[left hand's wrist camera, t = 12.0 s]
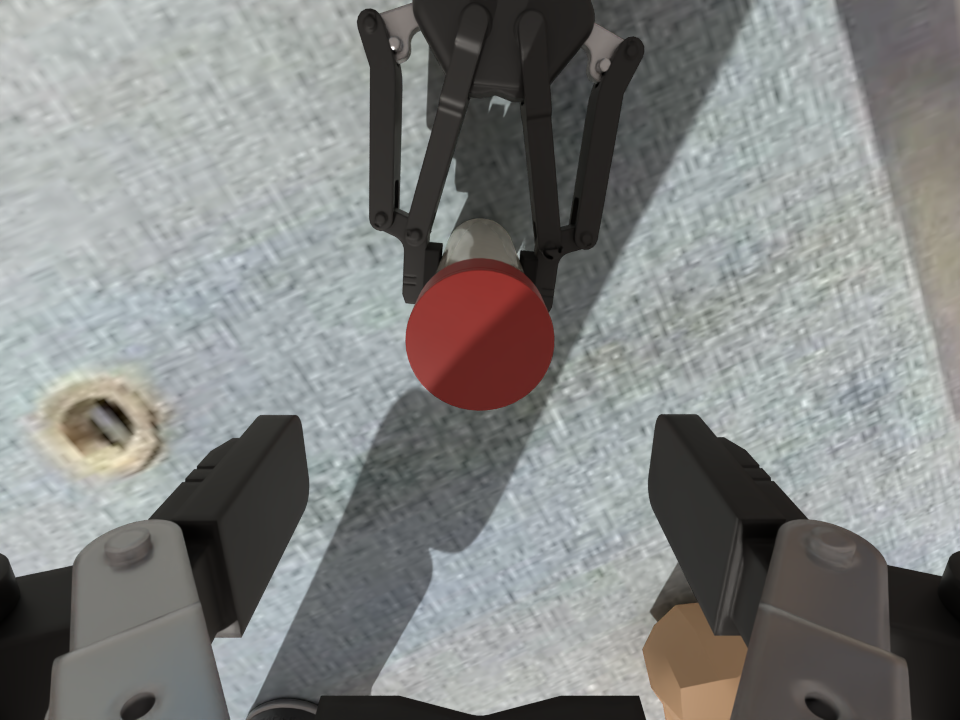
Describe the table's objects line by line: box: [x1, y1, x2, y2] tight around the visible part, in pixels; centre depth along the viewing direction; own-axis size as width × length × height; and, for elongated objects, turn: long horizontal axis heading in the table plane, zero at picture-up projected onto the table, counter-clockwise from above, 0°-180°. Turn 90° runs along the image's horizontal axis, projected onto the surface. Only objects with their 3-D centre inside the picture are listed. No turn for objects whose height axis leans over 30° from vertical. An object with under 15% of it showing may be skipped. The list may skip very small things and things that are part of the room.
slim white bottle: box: [436, 218, 524, 274], centre depth 27 cm, size 4×4×18 cm
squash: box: [642, 603, 748, 720], centre depth 45 cm, size 11×20×9 cm, turn 25°
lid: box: [406, 258, 554, 411], centre depth 19 cm, size 5×5×2 cm
